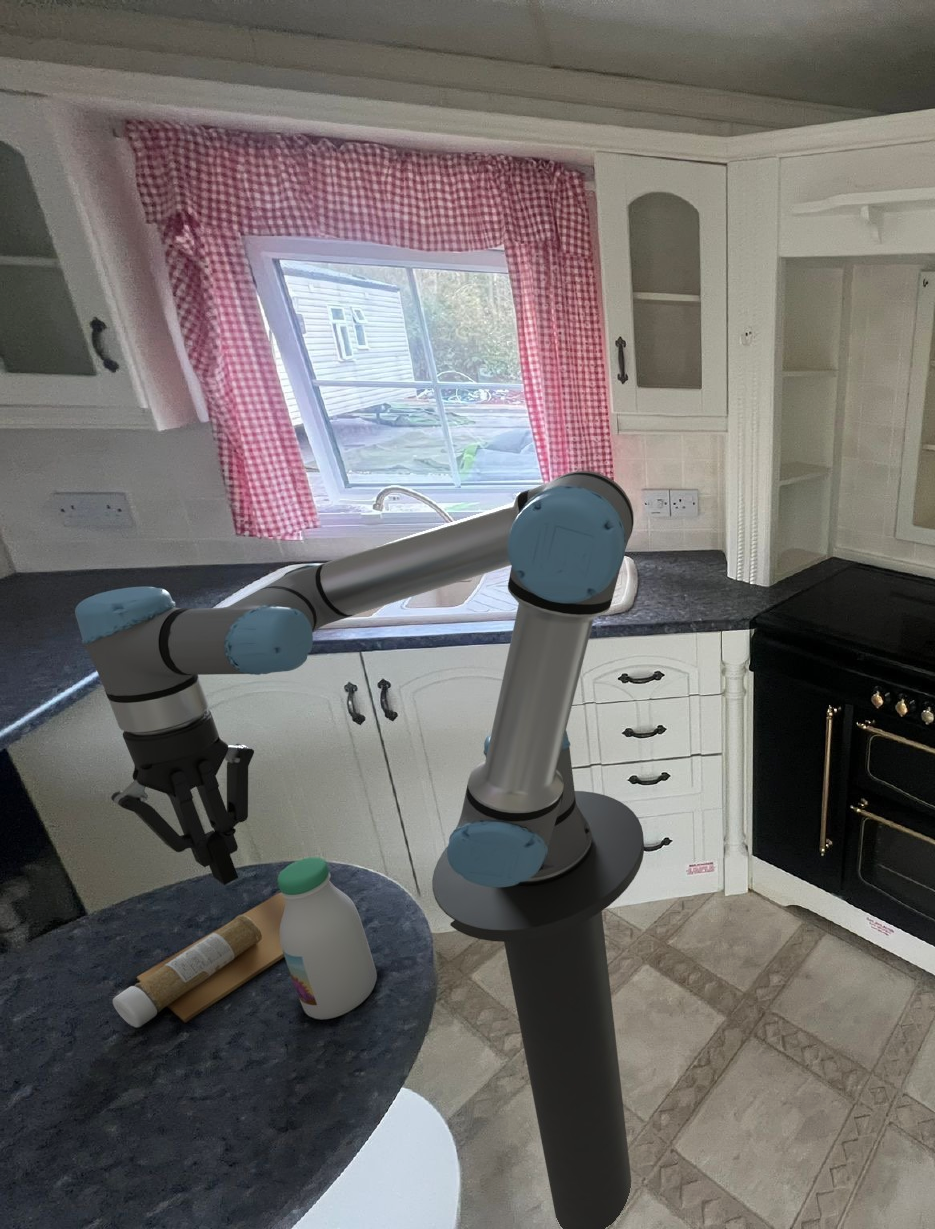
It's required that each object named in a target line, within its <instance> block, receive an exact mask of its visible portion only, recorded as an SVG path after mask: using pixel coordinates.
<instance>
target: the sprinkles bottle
mask: <svg viewBox="0 0 935 1229" xmlns="http://www.w3.org/2000/svg"><path fill="white" fill-rule="evenodd" d="M231 921H232V920H231ZM231 921H229V922H230V923H229V922H227V923H228V924H227V923H226V924H227V925H226V924H224V925H225V926H224V925H223V926H224V927H223V928H221V927H220V928H221V929H219V928H218V929H219V930H218V931H216V932H215V933H212V932H211V933H212V934H211V935H209V934H208V935H209V936H208V937H206V938H205V939H203V940H202V941H200V942H199V943H197V944H196V945H194V946H193V947H191V948H189V949H188V950H186V951H185V952H183V953H182V954H180V955H179V956H177V957H176V958H174V959H173V960H171V961H170V962H168V963H167V964H165V965H164V966H163V967H162V968H160V969H159V970H158V971H156V972H154V973H153V974H151V975H150V976H148V977H147V978H145V979H144V980H142V981H141V982H139V981H138V982H137V983H135V984H134V985H130V986H129V987H127V988H125V989H124V990H122V991H121V992H120V993H119V994H117V995H116V996H114V997H113V999H112V1005H113V1007H114V1009H115V1011H116V1012H117V1014H118V1015H119V1016H120V1017H121V1018H122V1019H123V1020H124V1021H125V1022H126V1023H127V1024H128V1025H129V1026H131V1027H133V1028H140V1027H142V1026H144V1025H145V1024H146V1023H148V1022H149V1021H151V1020H152V1019H153V1018H155V1017H156V1016H157V1014H158V1013H161V1011H162V1010H163V1009H164V1008H167V1006H168V1005H169V1004H170V1003H172V1002H173V1001H174V1000H176V999H177V998H179V997H180V996H182V995H183V994H184V993H186V992H187V991H189V990H190V989H192V988H193V987H195V986H197V985H198V984H199V983H201V982H202V981H204V980H205V979H206V978H208V977H209V976H211V975H212V974H214V973H215V972H216V971H218V970H219V969H221V968H222V967H223V966H225V965H226V964H228V963H229V962H231V961H232V960H233V959H234V958H235V957H237V956H238V955H240V954H241V953H243V952H244V951H245V950H246V949H248V948H250V947H251V946H252V945H254V944H256V943H258V942H259V941H260V940H261V939H262V934H261V931H260V929H259V928H258V927H257V925H256V924H255V923H254V922H253V921H252V920H251V919H250V918H249V917H247V916H245V915H243V914H238V915H237V916H236V917H235V918H234V919H233V921H232V922H231Z"/></svg>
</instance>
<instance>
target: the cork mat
mask: <svg viewBox="0 0 935 1229" xmlns="http://www.w3.org/2000/svg"><path fill="white" fill-rule="evenodd" d="M285 906H286V898H284V897H283V896H282V894H281V892H278V893H276V894H275V895H273V896H271V897H269V898H268V899H266V900H265V901H263V902H261V903H260V904H258V905H256V906H254V907H253V908H251V909H249V910H247V911H245V913H242V915H245V916H247V917H249V918H250V919H251V920H252V921H253V922H254V923H255V924H256V925H257V927H258V928H259V929H260V931H261V934H262V939H261V940H260V941H259V942H258V943H256V944H254V945H252V946H251V947H250V948H248V949H246V950H245V951H244V952H243V953H241V954H240V955H238V956H237V957H235V958H234V959H233V960H232V961H231V962H229V963H228V964H226V965H225V966H223V967H222V968H221V969H219V970H218V971H216V972H215V973H214V974H212V975H211V976H209V977H208V978H206V979H205V980H204V981H202V982H201V983H199V984H198V985H197V986H195V987H193V988H192V989H190V990H189V991H187V992H186V993H184V994H183V995H182V996H180V997H179V998H177V999H176V1000H174V1001H173V1002H172V1003H170V1004H169V1005H168V1006H166V1008H168V1009H169V1010H170V1011H171V1012H172V1013H174V1014H175V1015H176V1016H177V1017H178V1018H179V1019H180V1020H181V1021H182V1022H183V1023H187V1022H188V1021H190V1020H192V1019H193V1018H195V1017H196V1016H198V1015H199V1014H201V1013H202V1012H204V1011H205V1010H207V1009H208V1008H209V1007H211V1006H212V1005H214V1004H215V1003H217V1002H218V1001H220V1000H221V999H223V998H224V997H226V996H227V995H229V994H230V993H232V992H234V991H235V990H237V989H238V988H240V987H241V986H242V985H244V984H246V983H247V982H248V981H250V980H252V979H253V978H254V977H257V976H258V975H259V974H261V973H262V972H264V971H265V970H266V969H268V968H270V967H271V966H273V965H274V964H275V963H277V962H279V961H280V960H281V959H283V958H285V957H284V954H283V950H282V947H281V943H280V924H281V920H282V917H283V914H284V910H285ZM233 920H234V919H233ZM233 920H231V921H229V922H227V923H225V924H224V925H222V926H220V927H219V928H217V929H216V930H214V931H212V932H211V933H209V934H207V935H205V936H204V937H202V938H200V939H198V940H197V941H195V942H193V943H191V944H190V945H189V946H187V947H185V948H184V949H182V950H179V951H177V953H175V954H173V955H172V956H170V957H168V958H166V959H165V960H163V961H161V962H159V963H157V964H156V965H154V966H152V967H150V968H149V969H148V970H146V971H144V972H142V973H140V974H139V975H137V976H136V979H137V981H138V983H139V982H141V981H142V980H144V979H145V978H147V977H148V976H150V975H151V974H153V973H154V972H156V971H158V970H159V969H160V968H162V967H163V966H164V965H165V964H167V963H168V962H170V961H171V960H173V959H174V958H176V957H177V956H179V955H180V954H182V953H183V952H185V951H186V950H188V949H189V948H191V947H193V946H194V945H196V944H197V943H199V942H200V941H202V940H203V939H205V938H206V937H208V936H209V935H211V934H212V933H215V932H216V931H218V930H219V929H221V928H223V927H224V926H225V925H227V924H228V923H230V922H232V921H233Z"/></svg>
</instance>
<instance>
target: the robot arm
mask: <svg viewBox="0 0 935 1229" xmlns="http://www.w3.org/2000/svg"><path fill="white" fill-rule="evenodd" d="M634 520H635V518H634V510H633V505H632V503H631V500H630V498H629V496H628V495H627V493H626V491H625V490H624V489H623V488H622V487H621V486H620V485H619V484H618V483H617V482H616V481H614V480H613V479H612V478H610V477H609V476H606V475H604V474H602V473H599V472H596V471H595V472H594V471H590V470H577V471H576V470H575V471H570V472H567V473H564V474H562V475H560V476H558V477H556V478H555V479H552V480H550V481H548V482H546V483H543V484H540V485H538V486H535V487H534V488H530V489H527V490H523V491H521V492H518V493H517V494H516V495H515V498H514V500H513V502H512V503H510V504H507V505H503V506H501V507H497V508H494V509H491V510H488V511H484V512H481V513H478V514H475V515H472V516H469V517H466V518H462V519H459V520H456V521H452V522H449V523H446V524H443V525H440V526H437V527H434V528H431V529H430V528H429V529H427V530H424V531H420V532H418V533H415V534H412V535H408V536H406V537H402V538H399V539H396V540H392V541H389V542H385V543H383V544H380V545H377V546H374V547H371V548H367V549H364V550H361V551H358V552H355V553H352V554H348V555H344V556H342V557H339V558H335V559H332V560H329V561H327V562H324V563H309V564H306V565H303V566H299V567H296V568H294V569H291V570H289V571H287V572H286V573H284V574H283V575H282V576H281V577H279V578H278V579H276V580H274V581H273V582H271V583H269V584H267V585H265V586H263V587H261V588H259V589H258V590H256V591H255V592H252V593H250V594H249V595H247V596H245V597H243V598H241V599H239V600H237V601H236V602H233V603H232V604H230V605H227V606H224V607H210V608H192V607H191V608H190V607H189V608H188V607H176V606H177V605H176V601H174V600H173V598H172V596H171V593H170V592H169V591H167V590H166V589H164V588H161V587H154V586H131V587H124V588H117V589H112V590H108V591H103V592H100V593H96V594H94V595H92V596H89V597H87V598H84V599H83V600H81V601H80V602H79V603H78V604H77V605H76V607H75V608H74V616H75V619H76V621H77V625H78V628H79V632H80V634H81V635H80V636H81V639H82V640H81V643H82V645H84V647H85V649H86V652H87V654H88V656H89V658H90V660H91V662H92V664H93V666H94V668H95V670H96V672H97V675H98V677H99V680H100V681H101V684H102V686H103V689H104V692H105V695H106V697H107V700H108V702H109V705H110V707H111V710H112V712H113V715H114V717H115V720H116V723H117V725H118V728H119V729H120V730H121V731H123V732H122V738H123V740H124V743H125V745H126V748H127V750H128V753H129V755H130V757H131V761H132V763H133V765H134V769H133V772H132V779H133V781H132V782H131V783H130V784H129V785H127V787H126V788H125V789H124V790H123V791H122V790H119V791H116V792H114V793H113V794H111V797H110V798H111V801H113V802H114V803H115V804H117V805H118V806H120V807H121V808H123V809H125V810H127V811H130V812H134V813H135V815H136V816H137V817H138V818H139V819H140V820H141V821H142V822H143V823H144V824H145V825H146V826H147V827H148V828H149V829H150V830H151V831H152V832H153V833H154V835H156V836H157V837H158V838H159V839H160V840H161V841H162V843H163V844H165V845H166V846H168V848H169V849H171V850H173V851H174V852H176V853H182V852H184V851H186V850H187V849H190V850H191V852H192V856H193V858H194V860H195V862H196V863H197V864H199V865H200V866H202V867H203V868H206V867H208V866H209V868H210V872H211V874H212V877H213V878H214V879H215V880H216V881H218V882H219V883H221V884H222V885H224V886H226V885H228V884H229V883H231V882H234V881H236V880H237V879H239V876H238V875H239V874H238V873H237V872H238V871H237V870H236V867H235V865H234V861H233V859H232V856H231V854H233V853H236V852H237V851H238V848H239V845H238V842H237V841H236V837H235V834H236V831H237V829H236V828H235V827H236V826H237V825H238V824H239V823H244V822H245V821H246V820H248V818H249V766H250V764H251V761H252V759H253V757H254V754H255V750H254V749H253V748H251V747H249V746H247V745H245V744H244V743H240V742H238V743H236V744H234V745H232V744H231V745H230V744H228V743H227V742H225V741H224V740H222V739H221V738H220V735H219V732H218V728H217V725H216V722H215V720H214V717H213V714H212V712H211V711H210V710H209V709H208V708H209V702H208V700H207V697H206V694H205V691H204V688H203V686H202V683H201V681H200V677H199V676H202V675H203V676H206V675H207V676H208V675H209V676H210V675H213V676H214V675H255V676H259V675H260V676H261V675H269V674H272V673H283V672H284V673H285V672H290V671H293V670H296V669H298V668H300V667H301V666H302V665H304V664H305V662H306V661H307V660H308V654H310V653H311V651H312V648H313V642H314V641H313V640H314V634H313V633H315V632H316V631H317V630H319V629H320V628H322V627H324V626H326V625H329V624H332V623H336V622H338V621H339V622H340V621H341V620H345V619H347V618H350V617H353V616H356V615H358V614H359V615H360V614H361V613H365V612H369V611H371V610H375V609H377V608H380V607H384V606H387V605H390V604H393V603H396V602H399V601H403V600H406V599H409V598H413V597H415V596H416V597H417V596H419V595H421V594H426V593H429V592H431V591H434V590H439V589H440V588H445V587H447V586H450V585H453V584H456V583H460V582H463V581H466V580H469V579H472V578H476V577H479V576H481V575H485V574H488V573H491V572H494V571H497V570H502V569H504V568H507V567H510V566H511V567H510V571H509V576H508V582H507V590H508V593H509V594H510V595H511V596H512V597H513V599H514V600H515V601H516V602H517V603H518V604H517V610H516V614H515V620H514V624H513V628H512V632H511V638H510V642H509V648H508V652H507V657H506V661H505V667H504V671H503V676H502V682H501V685H500V691H499V695H498V700H497V705H496V709H495V714H494V719H493V723H492V728H491V732H490V733H489V734H488V735H487V737H486V738H485V740H484V742H483V744H484V745H483V747H484V748H483V752H482V753H483V755H484V756H485V760H484V761H483V762H481V763H479V764H477V766H476V767H474V769H472V771H470V774H469V777H468V780H467V785H466V789H465V794H464V798H463V804H462V809H461V813H460V817H459V820H458V822H457V825H456V826H455V829H454V830H453V831H452V832H451V834H450V836H449V838H448V844H447V846H448V847H447V846H446V848H447V858H448V861H449V864H450V866H451V867H452V868H453V870H454V871H455V872H456V873H458V874H460V875H462V877H463V878H464V879H466V880H468V881H470V882H472V883H475V884H478V885H481V886H486V887H509V886H513V885H518V886H535V885H541V884H545V883H549V882H552V881H555V880H557V879H560V878H562V877H564V876H566V875H568V874H569V873H571V872H572V871H574V870H575V869H576V868H578V867H579V866H580V865H581V864H582V863H583V862H584V861H585V859H586V858H587V857H588V855H589V853H590V851H591V848H592V834H591V829H590V827H589V824H588V823H587V821H586V819H585V817H584V816H583V814H582V812H581V811H580V809H579V807H578V806H577V804H576V799H575V791H576V790H575V783H574V772H573V765H572V757H571V756H572V755H571V749H570V748H571V742H570V740H569V735H568V731H567V727H568V723H569V719H570V717H571V716H570V715H571V711H572V707H573V704H574V699H575V696H576V693H577V692H576V691H577V688H578V684H579V680H580V675H581V672H582V668H583V664H584V659H585V656H586V651H587V647H588V645H589V639H590V637H591V633H592V632H591V631H592V628H593V624H594V620H595V618H597V617H600V616H602V615H603V614H605V613H607V612H608V611H609V610H610V608H611V606H612V602H613V598H614V594H615V591H616V587H617V584H618V579H619V575H620V572H621V568H622V566H623V562H624V559H625V554H626V550H627V547H628V543H629V541H630V539H631V537H632V533H633V529H634V524H635V521H634ZM224 760H225V761H226V805H225V803H224V800H223V797H222V794H221V792H220V788H219V787H220V784H219V782H218V779H217V775H218V773H219V771H220V769H221V766H222V765H223V762H224ZM146 788H147V789H151V790H154V791H157V792H160V793H163V794H166V796H168V798H169V800H170V802H171V805H172V808H173V810H174V813H175V816H176V818H177V821H178V823H179V826H180V828H181V831H182V833H183V834H182V835H180V834H179V833H178V832H177V831H176V830H175V829H174V828H173V827H172V826H171V824H169V823H168V822H167V820H166V819H164V818H163V817H162V816H161V814H160V813H159V812H158V811H157V810H156V809H155V808H154V807H153V806H152V805H151V804H149V803H147V801H148V798H149V795H148V793H147V792H145V790H146ZM194 788H196V789H197V792H198V796H199V798H200V800H201V803H202V806H203V808H204V811H205V814H206V816H207V819H208V821H209V824H210V827H211V828H212V830H210V831H208V832H205V830H204V826H203V824H202V822H201V819H200V816H199V814H198V810H197V808H196V806H195V803H194V800H193V799H194V796H193V793H192V790H193V789H194Z"/></svg>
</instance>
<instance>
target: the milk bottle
mask: <svg viewBox="0 0 935 1229" xmlns="http://www.w3.org/2000/svg"><path fill="white" fill-rule="evenodd" d="M276 880H277V886H278V888H279V891H280V893H281V894H282V896H283V897H284V898H286V906H285V910H284V914H283V917H282V920H281V924H280V943H281V947H282V950H283V954H284V957H283V958H284V959H285V960H284V961H285V963H286V965H287V969H288V971H289V975H290V978H291V979H292V982H293V985H294V988H295V991H296V993H297V996H298V999H299V1002H300V1004H301V1006H302V1009H303V1011H304V1013H305V1014H306V1015H307V1016H308V1017H310V1018H313V1019H315V1020H329V1019H334V1018H338V1017H340V1016H343V1015H345V1014H347V1013H349V1012H351V1011H352V1010H355V1008H357V1007H358V1006H360V1005H361V1004H362V1003H364V1001H365V1000H367V998H368V997H369V996H370V995H371V993H372V991H373V990H374V988H375V985H376V982H377V979H378V972H377V969H376V966H375V962H374V958H373V956H372V955H373V954H372V952H371V948H370V946H369V942H368V938H367V935H366V931H365V928H364V926H363V922H362V919H361V917H360V914H359V911H358V908H357V907H356V905H355V903H354V902H353V900H352V899H351V897H350V896H348V895H347V894H346V893H345V892H343V891H342V890H340V889H339V888H337V887H336V886H335V885H334V884H333V883H332V882H331V881H330V880H331V873H330V870H329V866H328V863H327V861H326V860H325V859H324V858H322V857H318V856H311V857H305V858H301V859H299V860H296V861H294V862H292V863H290V864H288V865H287V866H286V867H285V868H284V869H282V870H281V871H280V872H279V873H278V876H277V879H276Z"/></svg>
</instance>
